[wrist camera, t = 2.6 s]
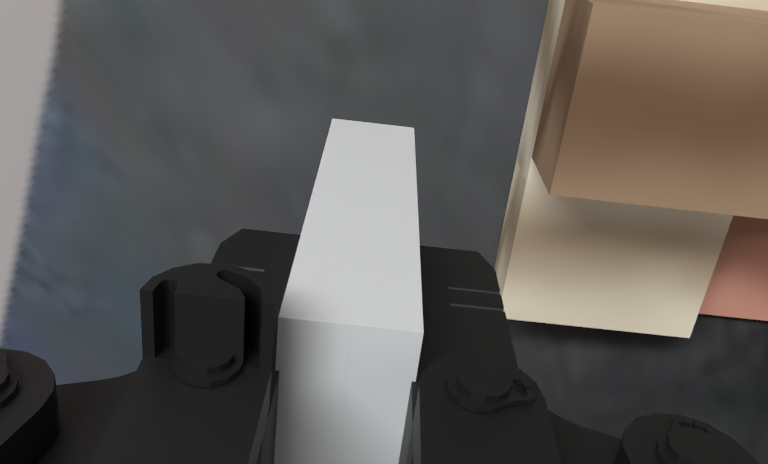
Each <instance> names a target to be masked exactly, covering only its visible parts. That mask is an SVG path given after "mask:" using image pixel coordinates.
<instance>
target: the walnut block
mask: <svg viewBox="0 0 768 464" xmlns="http://www.w3.org/2000/svg"><path fill="white" fill-rule="evenodd" d="M532 159H533V161H534V163H535V165H536V167H537V170H538V172H539V174H540V176H541V178H542V180H543V182H544V184H545V187H546V189H547V191H548V193H549V195H555V196H564V197H573V198H582V199H591V200H600V201H609V202H618V203H627V204H636V205H645V206H654V207H663V208H672V209H681V210H690V211H699V212H708V213H717V214H726V215H735V216H744V217H753V218H762V219H768V11H763V10H755V9H746V8H738V7H730V6H722V5H713V4H705V3H697V2H688V1H680V0H565V4H564V8H563V13H562V18H561V22H560V27H559V32H558V37H557V41H556V46H555V51H554V55H553V60H552V65H551V69H550V74H549V79H548V83H547V88H546V93H545V97H544V102H543V107H542V112H541V116H540V121H539V126H538V130H537V135H536V140H535V144H534V149H533V154H532Z"/></svg>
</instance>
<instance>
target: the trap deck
mask: <svg viewBox="0 0 768 464" xmlns="http://www.w3.org/2000/svg"><path fill="white" fill-rule="evenodd" d="M680 1H688V2H697V3H705V4H713V5H722V6H730V7H738V8H746V9H755V10H763V11H768V0H680ZM564 4H565V0H549V3H548V8H547V12H546V17H545V22H544V27H543V32H542V37H541V42H540V47H539V52H538V57H537V62H536V66H535V71H534V76H533V81H532V86H531V91H530V96H529V101H528V106H527V111H526V115H525V120H524V125H523V130H522V135H521V140H520V145H519V150H518V155H517V160H516V165H515V169H514V174H513V179H512V184H511V189H510V194H509V199H508V204H507V209H506V214H505V218H504V223H503V228H502V233H501V238H500V243H499V248H498V253H497V258H496V263H495V268H494V270H495V271H496V275H497V279H498V284H499V288H500V294H501V297H502V301H503V305H504V311H505V314H506V318H507V319H512V320H521V321H531V322H541V323H550V324H560V325H569V326H579V327H588V328H598V329H607V330H617V331H626V332H636V333H645V334H655V335H664V336H674V337H683V338H690V336H691V333H692V330H693V327H694V324H695V322H696V319H697V316H698V314H707V315H717V316H726V317H735V318H745V319H754V320H764V321H768V219H762V218H753V217H744V216H735V215H726V214H717V213H708V212H699V211H690V210H681V209H672V208H663V207H654V206H645V205H636V204H627V203H618V202H609V201H600V200H591V199H582V198H573V197H564V196H555V195H549V193H548V191H547V189H546V187H545V184H544V182H543V180H542V178H541V176H540V174H539V172H538V170H537V167H536V165H535V163H534V161H533V159H532V154H533V149H534V144H535V140H536V135H537V130H538V126H539V121H540V116H541V112H542V107H543V102H544V97H545V93H546V88H547V83H548V79H549V74H550V69H551V65H552V60H553V55H554V51H555V46H556V41H557V37H558V32H559V27H560V22H561V18H562V13H563V8H564Z"/></svg>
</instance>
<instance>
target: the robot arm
mask: <svg viewBox="0 0 768 464" xmlns="http://www.w3.org/2000/svg"><path fill="white" fill-rule="evenodd" d="M140 303H141V326H142V348H143V359H142V361H141V363H140V365H139V366H138V368H137V370H136V371H135V372H132V373H129V374H126V375H123V376H120V377H116V378H110V379H105V380H99V381H90V382H81V383H72V384H63V385H56V382H55V374H54V373H53V371H52V370H51V368H50V367H49V365H48V364H47V363H46V361H45V360H43V359H41V358H39V357H36V356H34V355H32V354H30V353H28V352H24V351H17V350H9V349H0V464H759V463H758V462H757V461H756V460H755V459H754V457H753V456H752V455H751V454H750V453H749V452H747V451H746V450H745V449H744V448H743V447H742V446H741V445H739V444H738V443H737V442H736V441H735V440H734V439H732V438H731V437H730V436H728V435H726V434H725V433H723V432H721V431H719V430H717V429H715V428H714V427H712V426H710V425H708V424H706V423H704V422H701V421H697V420H694V419H691V418H688V417H685V416H681V415H673V414H660V413H654V414H650V415H646V416H642V417H638V418H636V419H635V420H634V421H633V422H632V423H631V424H630V425H629V426H628V427H626V428H625V430H624V433H623V436H622V439H618V438H615V437H612V436H609V435H606V434H603V433H600V432H597V431H593V430H590V429H587V428H584V427H581V426H579V425H577V424H574V423H572V422H569V421H567V420H564V419H562V418H561V417H559V416H557V415H556V414H554V413H552V412H551V411H549V410H547V406H546V402H545V398H544V397H543V395H542V393H541V391H540V389H539V387H538V386H537V384H536V382H534V381H533V380H532V379H531V378H530V377H529V376H527V375H526V374H525V373H524V372H523V371H522V370H520V369H519V368H518V365H517V361H516V357H515V353H514V348H513V344H512V340H511V335H510V331H509V327H508V322H507V318H506V314H505V311H504V305H503V301H502V297H501V294H500V288H499V284H498V279H497V275H496V271H495V270H494V268H493V267H492V266H491V265H490V264H489V263H488V262H487V261H486V260H485V259H484V258H483V257H482V256H481V255H480V254H479V253H478V252H474V251H465V250H456V249H447V248H438V247H428V246H420V243H419V222H418V201H417V180H416V159H415V138H414V128H411V127H402V126H393V125H384V124H376V123H367V122H358V121H349V120H341V119H332V122H331V126H330V130H329V133H328V137H327V141H326V144H325V148H324V152H323V155H322V159H321V163H320V166H319V170H318V174H317V177H316V181H315V185H314V188H313V192H312V196H311V199H310V203H309V207H308V210H307V214H306V218H305V221H304V225H303V229H302V232H301V235H296V234H286V233H277V232H268V231H259V230H250V229H241V230H240V231H238V232H237V233H235V234H234V235H232V236H231V237H229V238H228V239H226V240H225V241H223V242H222V243H220V246H219V248H218V250H217V252H216V254H215V256H214V258H213V260H212V263H211V264H203V263H197V264H192V265H186V266H181V267H176V268H172V269H170V270H167V271H165V272H163V273H161V274H158V275H156V276H154V277H152V278H151V279H150V280H149V281H148V282H147V283H146V284H145V285H144V286H143V287H142V288H141V289H140Z"/></svg>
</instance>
